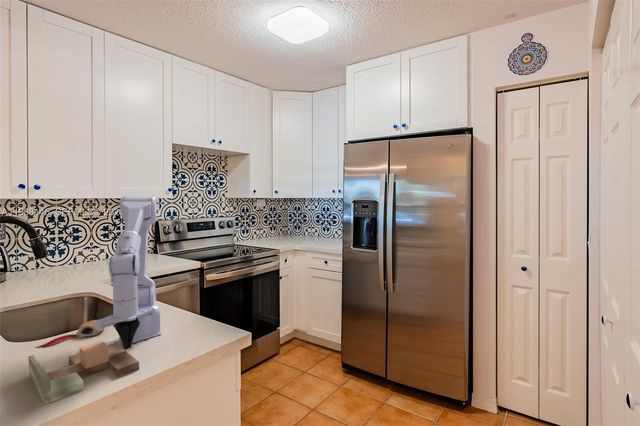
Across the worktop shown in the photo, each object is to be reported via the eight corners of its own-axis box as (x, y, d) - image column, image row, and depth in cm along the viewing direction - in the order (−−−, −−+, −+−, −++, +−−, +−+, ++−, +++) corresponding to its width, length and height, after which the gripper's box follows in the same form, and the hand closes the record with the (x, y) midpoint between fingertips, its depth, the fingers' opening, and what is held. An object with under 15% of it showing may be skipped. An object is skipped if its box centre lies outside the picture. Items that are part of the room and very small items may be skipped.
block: (102, 355, 90) (102, 340, 90) (108, 361, 87) (108, 345, 87) (80, 362, 87) (79, 347, 86) (85, 368, 84) (85, 352, 83)
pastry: (88, 326, 114) (87, 315, 114) (110, 325, 116) (110, 314, 116) (74, 338, 105) (74, 326, 105) (99, 336, 107) (99, 324, 107)
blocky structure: (115, 349, 98) (114, 332, 98) (139, 369, 87) (138, 350, 87) (29, 376, 84) (28, 356, 83) (45, 403, 73) (44, 381, 73)
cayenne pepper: (32, 352, 97) (32, 345, 97) (32, 346, 101) (32, 340, 101) (84, 340, 105) (83, 334, 105) (82, 335, 109) (82, 329, 108)
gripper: (99, 308, 84) (101, 362, 85) (159, 295, 95) (160, 343, 96) (90, 302, 88) (92, 353, 89) (148, 290, 99) (149, 336, 100)
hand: (127, 347), depth 93 cm, fingers closed
